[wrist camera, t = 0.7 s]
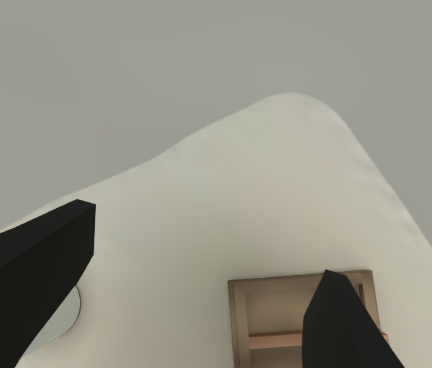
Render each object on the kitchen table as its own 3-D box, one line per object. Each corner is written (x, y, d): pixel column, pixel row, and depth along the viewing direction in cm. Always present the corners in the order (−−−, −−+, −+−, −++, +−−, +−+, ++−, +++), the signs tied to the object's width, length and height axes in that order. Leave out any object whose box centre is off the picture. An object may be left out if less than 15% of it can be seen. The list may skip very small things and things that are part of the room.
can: (93, 288, 37) (30, 310, 25) (62, 349, 36) (-18, 402, 24) (37, 260, 37) (-49, 269, 26) (6, 320, 37) (-99, 357, 25)
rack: (392, 446, 34) (407, 464, 31) (241, 456, 34) (243, 475, 31) (368, 269, 36) (379, 272, 34) (227, 280, 37) (228, 283, 34)
